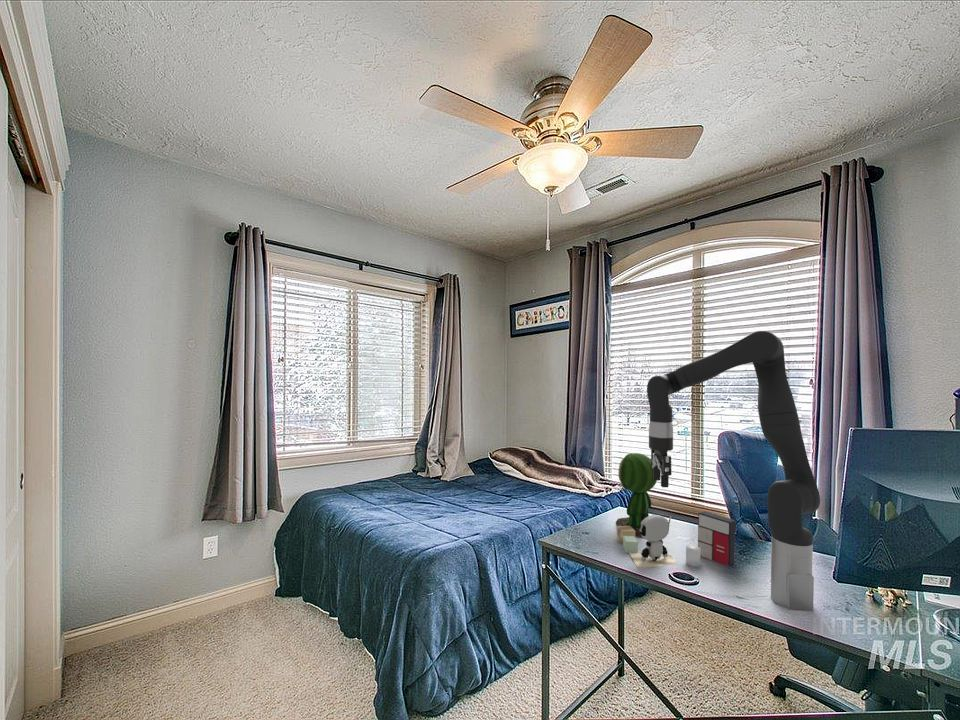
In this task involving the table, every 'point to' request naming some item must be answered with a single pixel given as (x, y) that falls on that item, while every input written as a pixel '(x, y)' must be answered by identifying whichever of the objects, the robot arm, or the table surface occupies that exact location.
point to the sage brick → (630, 544)
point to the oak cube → (624, 532)
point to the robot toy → (654, 536)
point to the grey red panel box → (716, 537)
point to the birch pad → (651, 561)
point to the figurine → (636, 489)
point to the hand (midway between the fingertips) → (660, 483)
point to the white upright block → (693, 555)
